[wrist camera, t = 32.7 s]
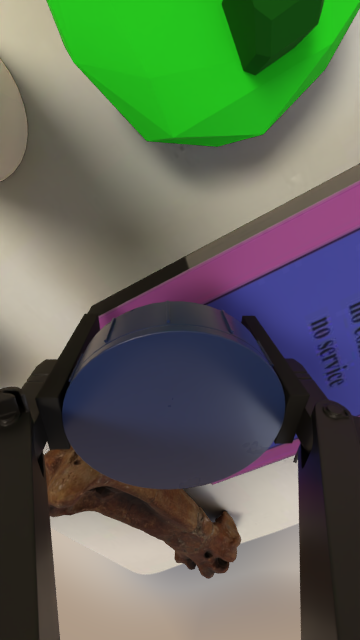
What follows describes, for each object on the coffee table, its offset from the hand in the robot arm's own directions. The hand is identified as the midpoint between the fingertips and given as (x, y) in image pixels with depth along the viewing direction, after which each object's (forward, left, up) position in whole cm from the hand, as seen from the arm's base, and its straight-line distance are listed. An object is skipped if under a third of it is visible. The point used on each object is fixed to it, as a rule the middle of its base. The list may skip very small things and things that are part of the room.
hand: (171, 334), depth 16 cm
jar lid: (0, 0, +6) cm, 6 cm away
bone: (0, -22, -5) cm, 23 cm away
